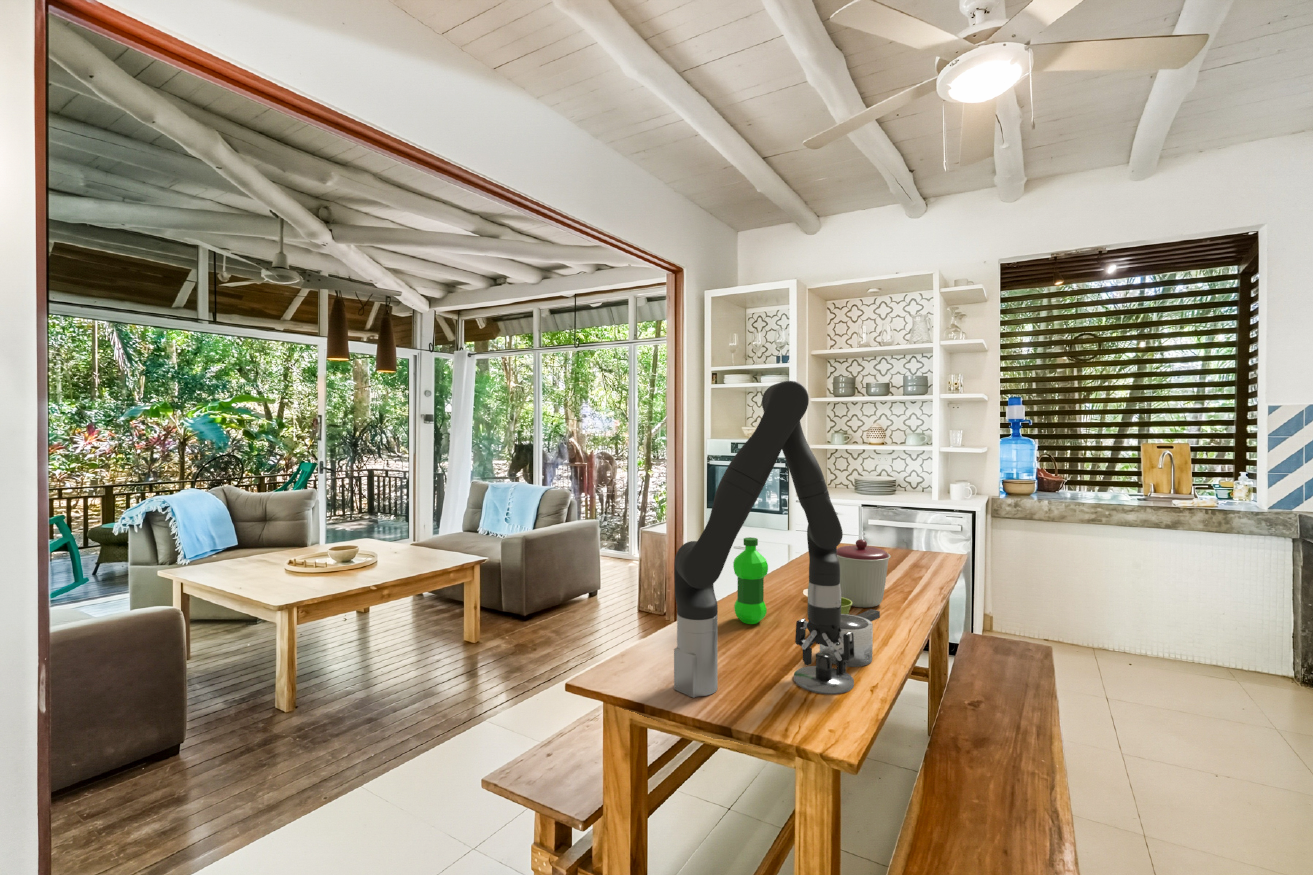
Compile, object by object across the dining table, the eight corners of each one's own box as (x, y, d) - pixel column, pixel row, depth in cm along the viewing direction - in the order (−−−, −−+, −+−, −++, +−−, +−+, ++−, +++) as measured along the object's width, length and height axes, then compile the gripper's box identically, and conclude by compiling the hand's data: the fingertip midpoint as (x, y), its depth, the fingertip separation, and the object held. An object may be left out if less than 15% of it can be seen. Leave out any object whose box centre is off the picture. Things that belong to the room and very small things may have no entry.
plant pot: (847, 638, 174) (847, 608, 174) (813, 632, 179) (813, 602, 179) (855, 628, 182) (856, 599, 182) (823, 623, 187) (823, 594, 187)
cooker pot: (850, 674, 151) (850, 637, 150) (803, 659, 160) (803, 624, 160) (897, 647, 168) (898, 614, 167) (853, 635, 177) (853, 603, 177)
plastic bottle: (773, 620, 190) (774, 538, 189) (755, 629, 182) (756, 543, 181) (745, 613, 197) (745, 534, 195) (726, 622, 188) (726, 539, 187)
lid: (833, 701, 138) (834, 672, 137) (782, 682, 148) (782, 654, 147) (864, 682, 147) (865, 655, 147) (814, 665, 157) (814, 640, 157)
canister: (821, 602, 207) (821, 539, 206) (850, 591, 219) (851, 532, 219) (872, 615, 194) (872, 548, 193) (900, 603, 206) (901, 539, 205)
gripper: (789, 598, 149) (788, 665, 150) (843, 611, 139) (842, 684, 139) (806, 591, 154) (806, 656, 155) (860, 604, 144) (859, 674, 145)
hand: (823, 669), depth 147 cm, fingers open, 8 cm apart
